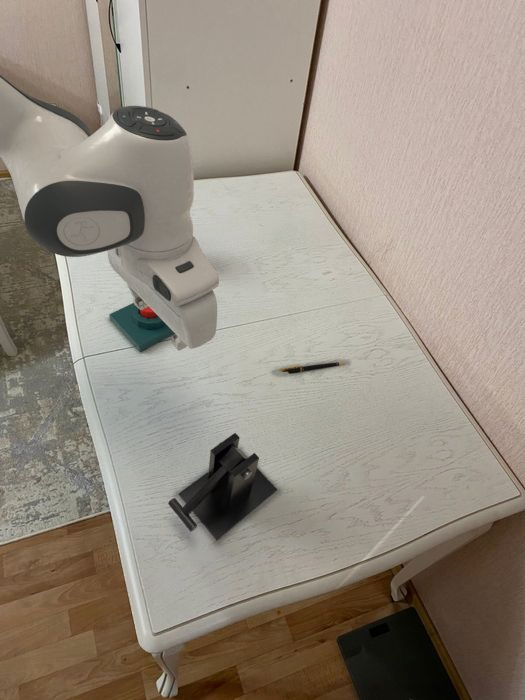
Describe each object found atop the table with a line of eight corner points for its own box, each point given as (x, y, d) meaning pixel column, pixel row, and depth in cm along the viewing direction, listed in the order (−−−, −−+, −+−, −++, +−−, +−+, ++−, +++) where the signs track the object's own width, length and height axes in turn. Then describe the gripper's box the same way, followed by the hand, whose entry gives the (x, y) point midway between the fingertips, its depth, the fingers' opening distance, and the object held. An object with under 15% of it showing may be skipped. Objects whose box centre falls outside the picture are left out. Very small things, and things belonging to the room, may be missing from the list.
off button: (148, 321, 93) (147, 315, 91) (135, 309, 94) (135, 302, 93) (165, 312, 95) (165, 306, 93) (153, 300, 96) (153, 294, 95)
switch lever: (194, 531, 68) (187, 532, 66) (172, 504, 70) (164, 503, 68) (255, 466, 69) (250, 464, 66) (231, 441, 71) (226, 438, 68)
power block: (140, 354, 92) (138, 340, 89) (110, 322, 96) (107, 307, 93) (192, 326, 98) (192, 311, 95) (162, 296, 102) (161, 282, 99)
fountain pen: (344, 362, 97) (346, 357, 96) (346, 367, 96) (348, 362, 95) (273, 372, 93) (274, 367, 92) (275, 377, 93) (276, 372, 91)
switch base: (216, 543, 72) (221, 506, 62) (178, 496, 76) (177, 455, 66) (276, 492, 78) (289, 452, 68) (238, 452, 82) (246, 408, 72)
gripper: (88, 212, 64) (102, 292, 74) (184, 306, 55) (184, 381, 66) (131, 197, 67) (138, 276, 77) (228, 284, 58) (222, 359, 69)
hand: (160, 325), depth 72 cm, fingers open, 8 cm apart
